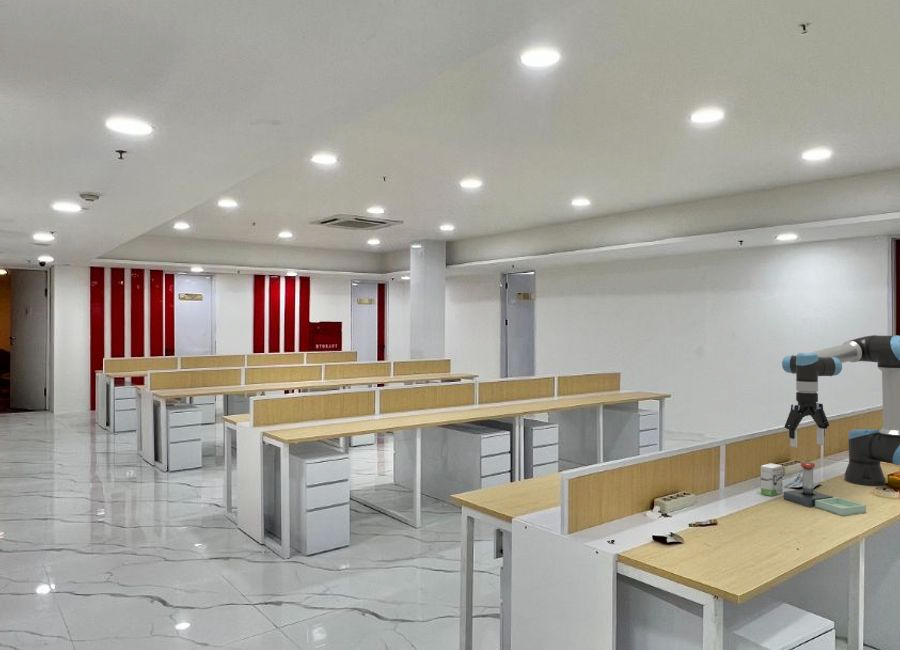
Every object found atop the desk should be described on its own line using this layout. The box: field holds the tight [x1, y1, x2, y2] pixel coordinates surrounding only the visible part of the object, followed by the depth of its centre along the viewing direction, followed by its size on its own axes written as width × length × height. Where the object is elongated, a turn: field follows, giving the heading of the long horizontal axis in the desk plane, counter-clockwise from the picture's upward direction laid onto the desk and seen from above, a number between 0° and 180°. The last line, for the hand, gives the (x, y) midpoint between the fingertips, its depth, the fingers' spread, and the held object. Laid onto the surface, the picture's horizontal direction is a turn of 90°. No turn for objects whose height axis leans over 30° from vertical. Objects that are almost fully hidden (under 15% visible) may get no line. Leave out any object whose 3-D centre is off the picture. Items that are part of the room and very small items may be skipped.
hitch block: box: [783, 488, 834, 508], centre depth 249 cm, size 12×12×3 cm
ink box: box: [760, 462, 784, 497], centre depth 261 cm, size 9×5×12 cm, turn 124°
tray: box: [814, 497, 867, 517], centre depth 238 cm, size 12×12×3 cm
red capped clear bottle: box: [800, 461, 816, 496], centre depth 249 cm, size 5×5×15 cm
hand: (807, 445), depth 249 cm, fingers open, 13 cm apart
